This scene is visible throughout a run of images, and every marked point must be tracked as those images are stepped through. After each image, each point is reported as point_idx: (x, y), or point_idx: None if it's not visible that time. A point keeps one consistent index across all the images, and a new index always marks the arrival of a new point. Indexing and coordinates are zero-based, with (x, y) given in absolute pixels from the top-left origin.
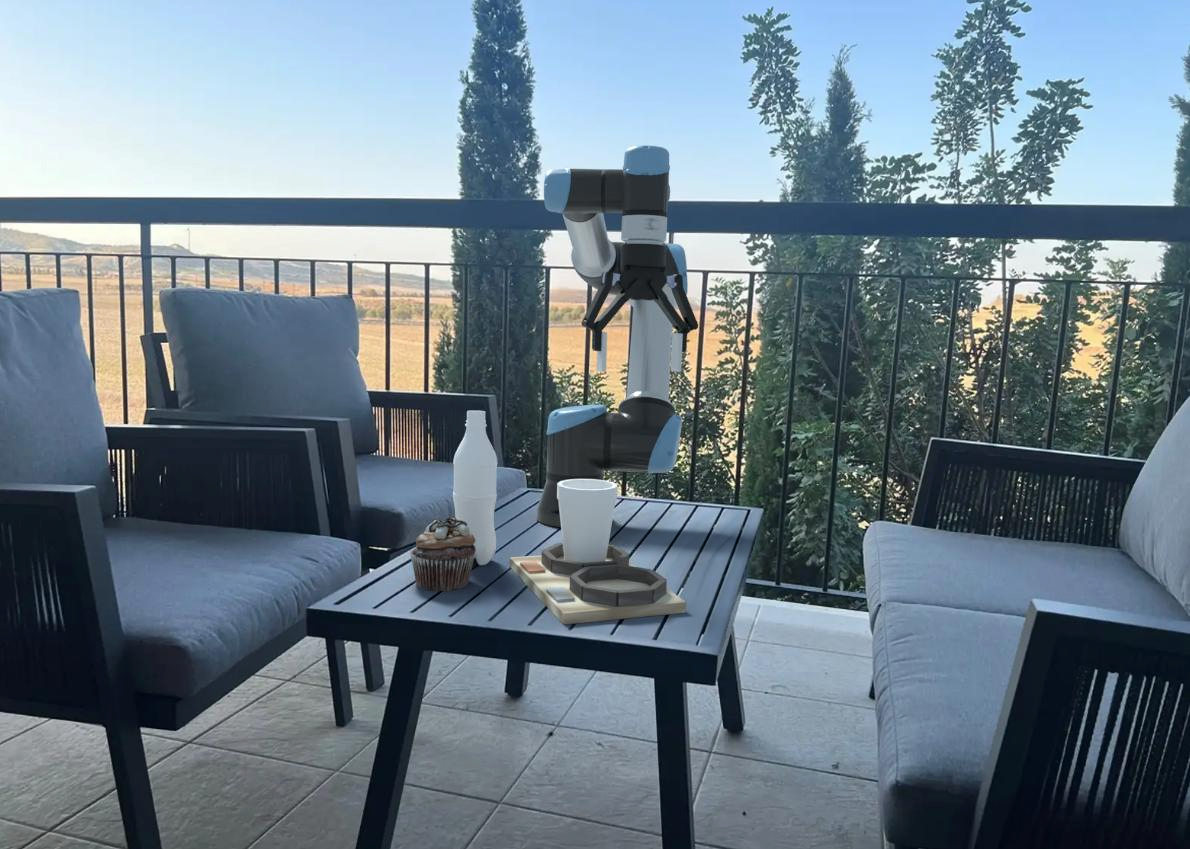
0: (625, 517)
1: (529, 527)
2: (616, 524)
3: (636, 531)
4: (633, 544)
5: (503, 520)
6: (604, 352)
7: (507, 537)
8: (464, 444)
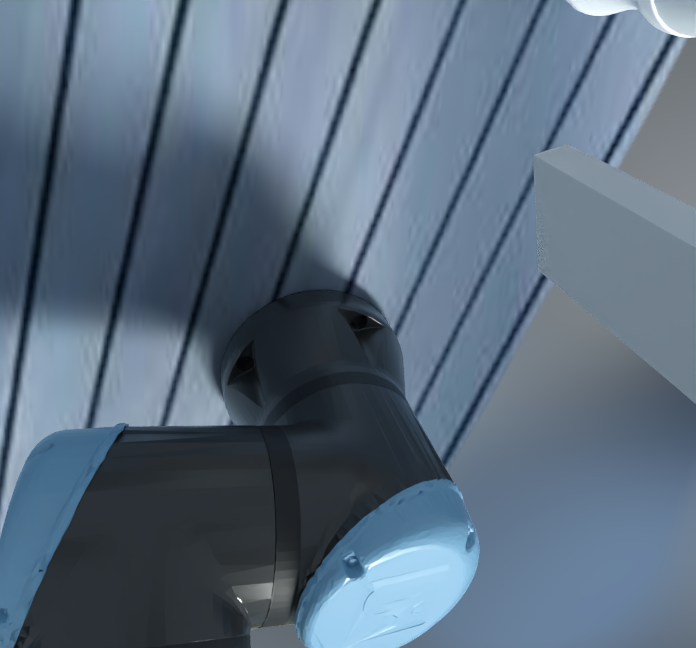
0: (182, 414)
1: (417, 288)
2: (207, 348)
3: (154, 290)
4: (164, 156)
5: (465, 337)
6: (655, 209)
7: (475, 193)
8: None
